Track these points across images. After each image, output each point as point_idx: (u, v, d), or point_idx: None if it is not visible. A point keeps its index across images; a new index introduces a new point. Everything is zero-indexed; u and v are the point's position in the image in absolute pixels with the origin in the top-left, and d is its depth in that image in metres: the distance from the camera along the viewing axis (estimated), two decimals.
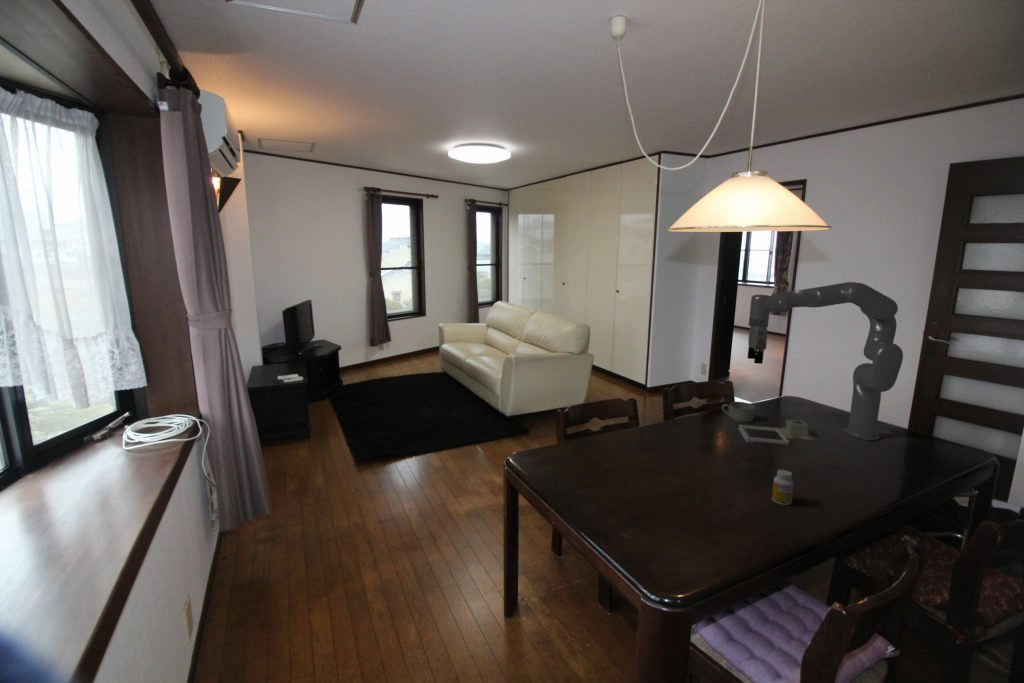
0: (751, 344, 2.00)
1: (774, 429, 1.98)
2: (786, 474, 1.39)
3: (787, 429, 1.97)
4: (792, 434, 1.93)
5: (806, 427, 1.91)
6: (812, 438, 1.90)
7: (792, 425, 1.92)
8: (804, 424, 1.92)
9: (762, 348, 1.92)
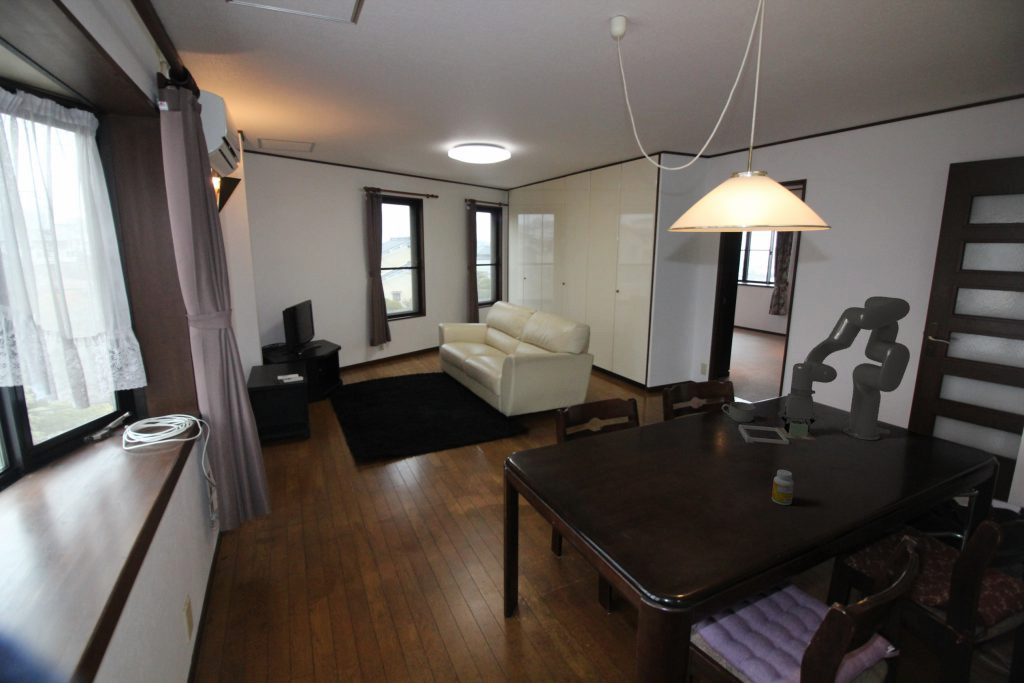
0: (801, 415, 1.91)
1: (774, 429, 1.98)
2: (786, 474, 1.39)
3: None
4: (792, 434, 1.93)
5: (806, 427, 1.91)
6: (812, 438, 1.90)
7: (792, 425, 1.92)
8: (804, 424, 1.92)
9: None
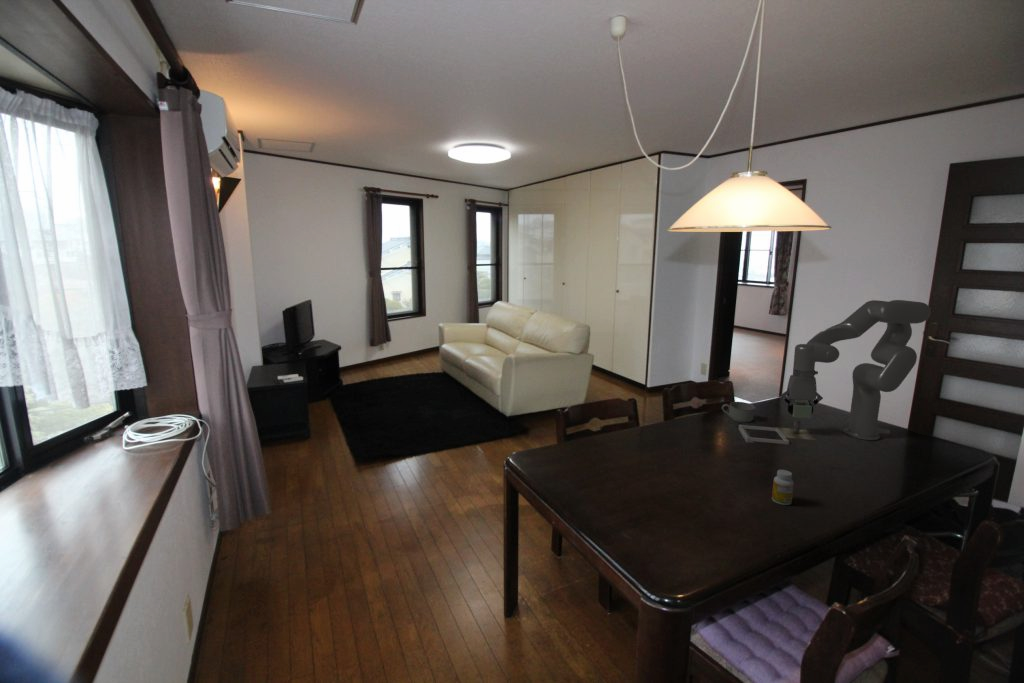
0: (805, 396, 1.90)
1: (774, 429, 1.98)
2: (786, 474, 1.39)
3: None
4: (796, 416, 1.91)
5: (810, 408, 1.89)
6: (812, 438, 1.90)
7: (795, 407, 1.91)
8: (808, 405, 1.91)
9: None
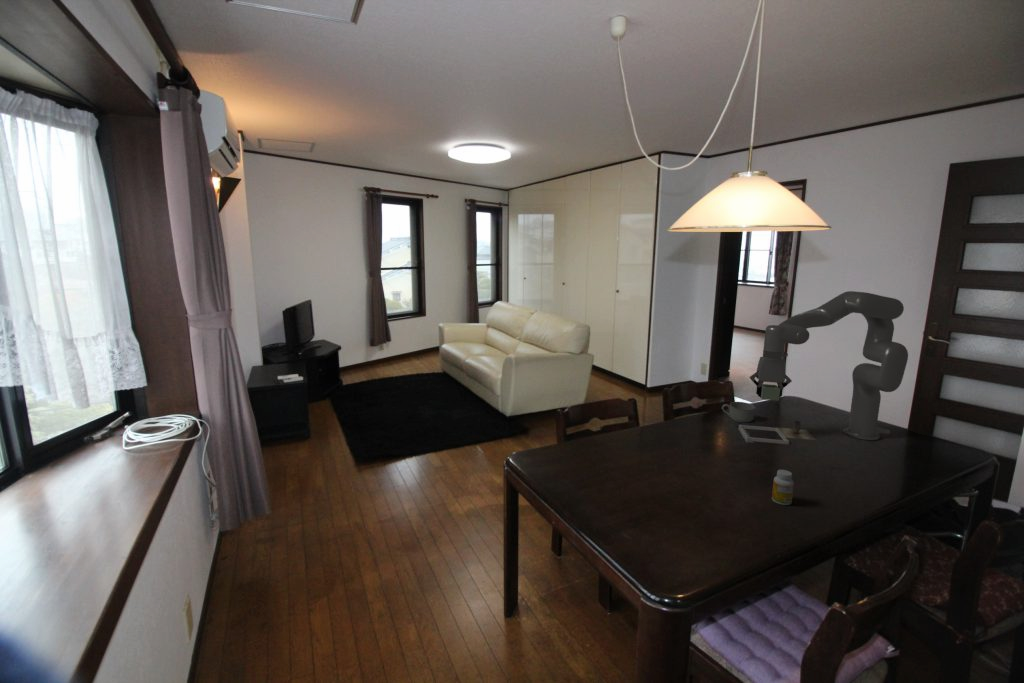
0: (773, 378, 1.87)
1: (774, 429, 1.98)
2: (786, 474, 1.39)
3: None
4: (764, 398, 1.88)
5: (778, 390, 1.86)
6: (812, 438, 1.90)
7: (764, 388, 1.87)
8: (776, 388, 1.87)
9: None
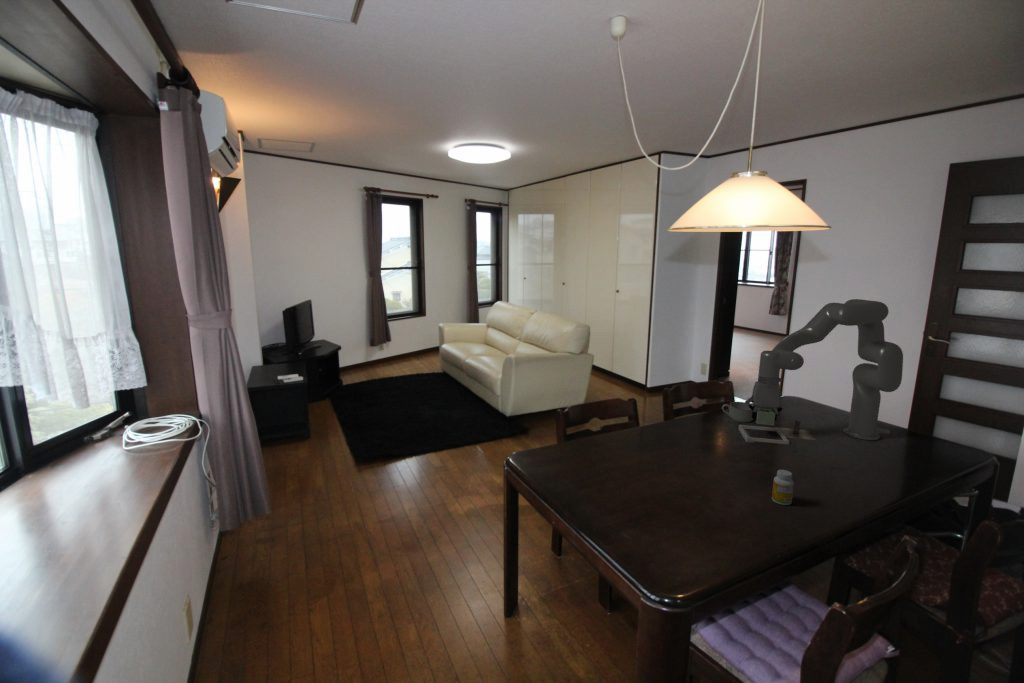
0: (768, 404, 1.88)
1: (774, 429, 1.98)
2: (786, 474, 1.39)
3: None
4: (759, 422, 1.90)
5: (773, 415, 1.88)
6: (812, 438, 1.90)
7: (759, 413, 1.89)
8: (771, 412, 1.89)
9: None
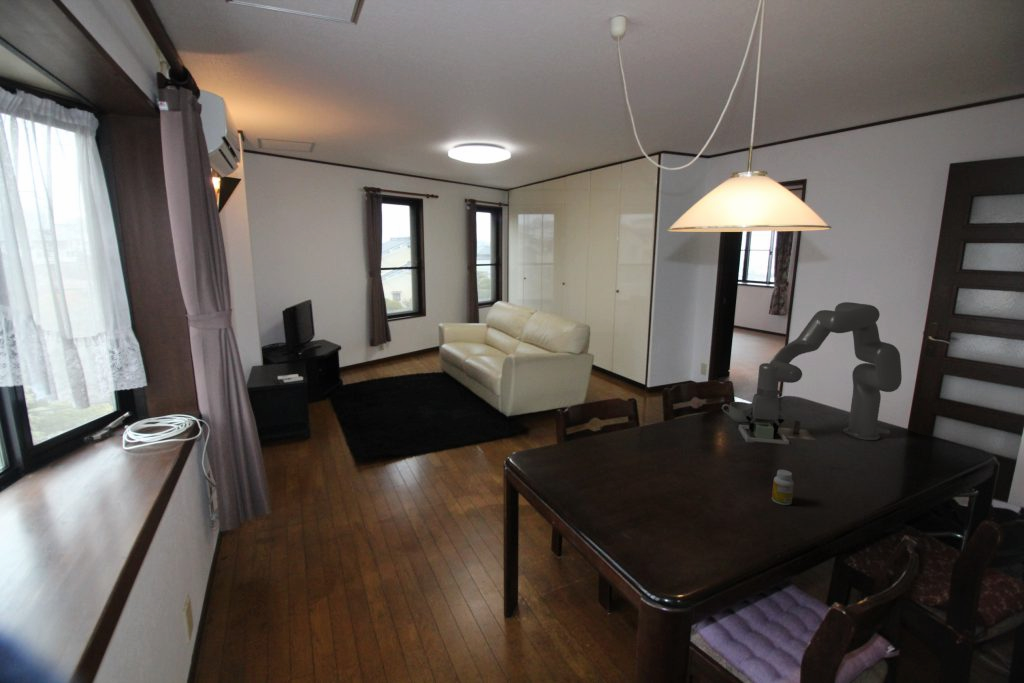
0: (767, 416, 1.89)
1: None
2: (786, 474, 1.39)
3: (754, 432, 1.95)
4: (758, 437, 1.91)
5: (772, 430, 1.89)
6: (812, 438, 1.90)
7: (758, 428, 1.90)
8: (770, 427, 1.90)
9: None
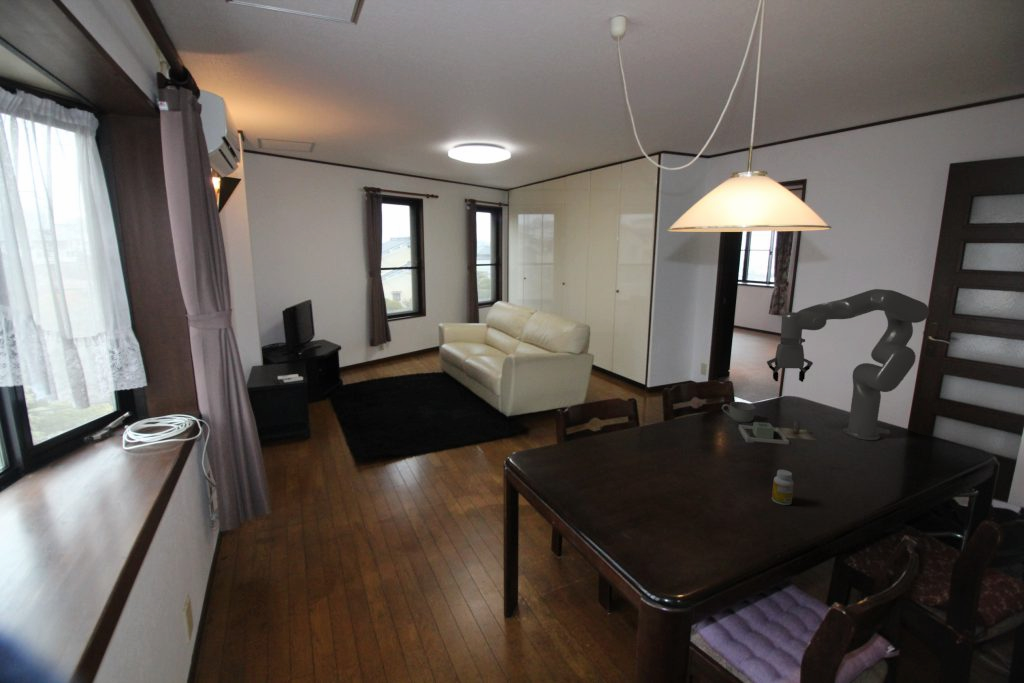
0: (792, 365, 1.90)
1: (774, 429, 1.98)
2: (786, 474, 1.39)
3: (754, 432, 1.95)
4: (758, 437, 1.91)
5: (772, 430, 1.89)
6: (812, 438, 1.90)
7: (758, 428, 1.90)
8: (770, 427, 1.90)
9: None
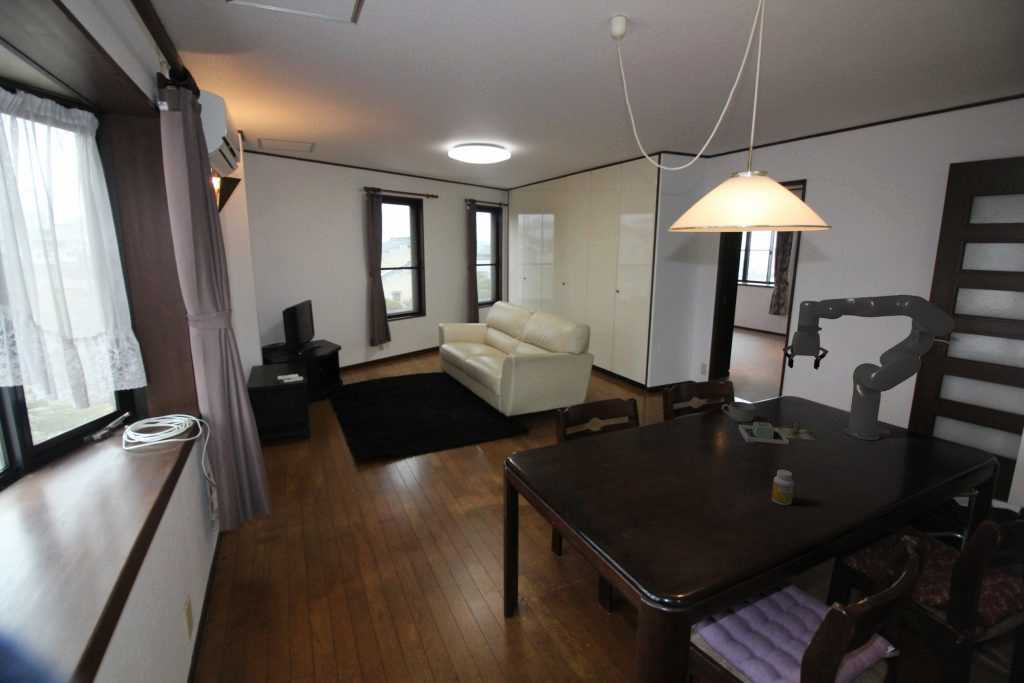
0: (808, 352, 1.94)
1: (774, 429, 1.98)
2: (786, 474, 1.39)
3: (754, 432, 1.95)
4: (758, 437, 1.91)
5: (772, 430, 1.89)
6: (812, 438, 1.90)
7: (758, 428, 1.90)
8: (770, 427, 1.90)
9: None
